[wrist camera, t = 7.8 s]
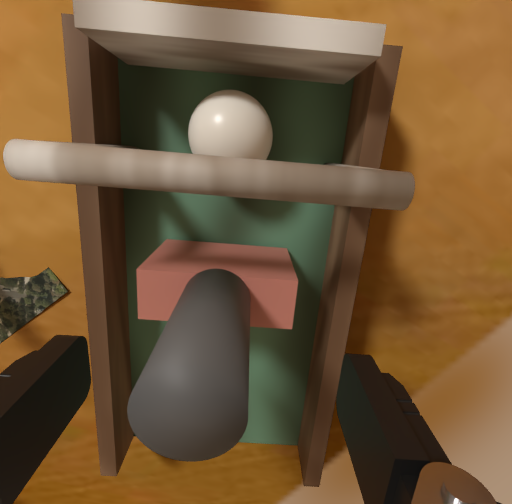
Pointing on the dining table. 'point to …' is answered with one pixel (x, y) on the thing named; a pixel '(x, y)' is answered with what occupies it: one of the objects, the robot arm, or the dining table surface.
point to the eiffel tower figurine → (26, 299)
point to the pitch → (223, 188)
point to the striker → (205, 341)
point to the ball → (230, 126)
